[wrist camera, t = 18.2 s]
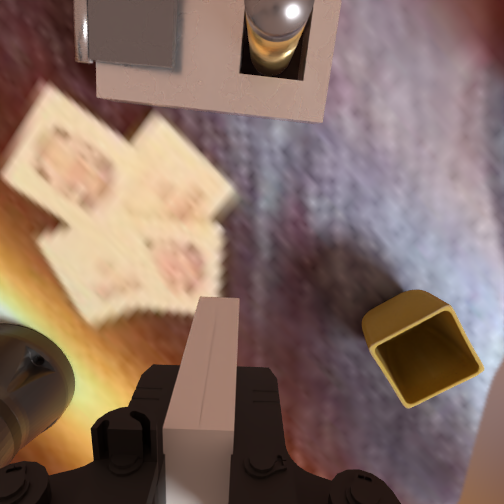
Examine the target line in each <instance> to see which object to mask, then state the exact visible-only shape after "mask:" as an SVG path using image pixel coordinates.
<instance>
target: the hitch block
mask: <svg viewBox="0 0 504 504" xmlns="http://www.w3.org/2000/svg"><path fill="white" fill-rule="evenodd" d="M340 6H341V0H315V1H314V5H313V8H312V10H311V13H310V15H309V17H308V20H307V22H306V25H305V27H304V34H303V42H302V49H301V57H300V64H299V72H298V80H290V79H282V78H273V77H265V76H256V75H248V74H241V69H242V58H243V46H244V35H245V24H246V13H245V5H244V0H178V4H177V30H176V57H175V68H164V67H153V66H141V65H130V64H119V63H108V62H96V89H97V97H98V98H102V99H106V100H111V101H115V102H122V103H131V104H140V105H149V106H158V107H167V108H176V109H184V110H193V111H202V112H211V113H220V114H229V115H237V116H246V117H255V118H264V119H273V120H282V121H291V122H299V123H308V124H317V123H322V122H323V116H324V109H325V103H326V96H327V90H328V83H329V77H330V71H331V64H332V58H333V51H334V45H335V38H336V32H337V26H338V19H339V13H340Z"/></svg>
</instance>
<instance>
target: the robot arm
mask: <svg viewBox="0 0 504 504" xmlns="http://www.w3.org/2000/svg"><path fill="white" fill-rule="evenodd" d="M238 320H239V298H221V297H200V298H199V302H198V305H197V309H196V312H195V316H194V319H193V323H192V326H191V330H190V333H189V337H188V341H187V344H186V348H185V351H184V355H183V358H182V362H181V365H155V364H153V365H152V366H151V367H150V368H149V369H148V370H146V371H145V372H144V373H143V374H142V375H141V378H140V380H139V382H138V385H137V387H136V390H135V391H134V394H133V396H132V400H131V401H130V403H129V405H128V407H122V408H118V409H116V410H113V411H110V412H108V413H106V414H105V415H103V416H102V417H101V418H99V419H98V420H97V421H96V422H95V424H94V425H93V426H92V427H91V436H92V446H93V457H94V461H93V462H91V463H89V464H87V465H85V466H83V467H80V468H77V469H74V470H70V471H66V472H62V473H58V474H54V475H50V476H49V475H48V473H47V471H46V469H45V467H44V466H42V465H40V464H39V463H37V462H28V461H22V462H18V463H13V464H9V463H10V462H11V460H12V459H13V458H14V456H15V455H16V453H17V452H18V451H19V450H20V449H21V448H23V447H24V446H25V445H26V444H28V443H29V442H30V441H31V440H33V439H34V438H35V437H36V436H38V435H39V434H40V433H42V432H44V431H45V430H47V429H48V428H50V427H51V426H52V425H53V424H55V423H56V422H57V420H58V419H59V418H60V417H61V416H62V414H63V413H64V411H65V410H66V408H67V407H68V405H69V404H70V402H71V400H72V398H73V394H74V390H75V378H74V373H73V370H72V367H71V365H70V363H69V361H68V359H67V358H66V356H65V355H64V353H63V352H62V351H61V350H60V349H59V348H58V347H57V346H56V345H55V344H54V343H53V342H52V341H50V340H49V339H48V338H46V337H45V336H43V335H41V334H39V333H38V332H35V331H33V330H31V329H28V328H25V327H21V326H17V325H11V324H0V504H401V503H400V502H399V500H398V499H397V497H396V496H395V494H394V493H393V491H392V490H391V489H390V488H389V487H388V486H387V485H386V483H385V482H384V481H382V480H381V479H379V478H378V477H376V476H375V475H373V474H371V473H368V472H365V471H362V470H345V471H343V472H341V473H338V474H337V475H336V476H335V478H334V479H333V480H332V481H331V480H328V479H325V478H322V477H319V476H316V475H313V474H311V473H309V472H306V471H305V470H303V469H302V468H300V467H299V466H298V465H297V464H296V463H295V462H294V461H293V460H292V459H291V457H290V456H289V454H288V452H287V449H286V446H285V439H284V431H283V423H282V415H281V407H280V399H279V394H278V383H277V378H276V377H275V375H274V374H273V373H272V371H271V370H270V369H269V368H263V367H237V345H238ZM8 464H9V465H8Z"/></svg>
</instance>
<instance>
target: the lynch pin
mask: <svg viewBox="0 0 504 504" xmlns="http://www.w3.org/2000/svg"><path fill="white" fill-rule="evenodd" d="M314 1H315V0H244V5H245V13H246V22H247V30H248V39H249V48H250V56H251V61H252V64H253V66H254V67H255V69H256V70H257V71H258V72H260V73H261V74H263V75H266V76H275V75H278V74H280V73H282V72H283V71H284V70H285V69H286V68H287V66H288V65H289V63H290V60H291V58H292V55H293V53H294V51H295V48H296V46H297V44H298V41H299V39H300V36H301V34H302V32H303V29H304V27H305V25H306V22H307V20H308V17H309V15H310V13H311V10H312V8H313V5H314Z"/></svg>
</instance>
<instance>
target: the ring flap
mask: <svg viewBox="0 0 504 504" xmlns="http://www.w3.org/2000/svg"><path fill="white" fill-rule="evenodd" d="M177 4H178V0H73V22H74V48H75V61H76V62H80V63H85V64H93V61H96V62H108V63H119V64H130V65H141V66H153V67H164V68H175V57H176V30H177Z"/></svg>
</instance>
